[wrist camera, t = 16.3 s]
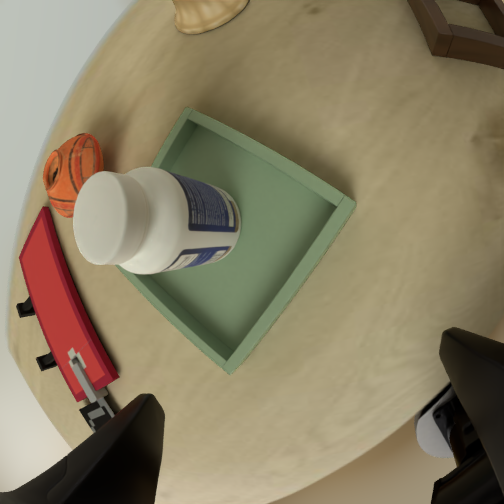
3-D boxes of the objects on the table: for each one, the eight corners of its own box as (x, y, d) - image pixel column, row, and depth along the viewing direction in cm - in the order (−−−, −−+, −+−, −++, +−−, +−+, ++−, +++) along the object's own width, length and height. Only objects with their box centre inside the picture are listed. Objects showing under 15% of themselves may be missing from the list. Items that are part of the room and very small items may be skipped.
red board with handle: (105, 448, 28) (163, 435, 23) (92, 456, 25) (146, 448, 21) (20, 270, 33) (51, 207, 29) (6, 271, 31) (34, 205, 26)
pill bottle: (189, 178, 20) (81, 147, 11) (254, 198, 18) (156, 165, 9) (168, 247, 21) (58, 254, 12) (228, 275, 19) (122, 304, 10)
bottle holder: (523, 75, 10) (536, 58, 7) (431, 55, 13) (438, 32, 10) (482, 0, 9) (488, -18, 7) (398, -16, 13) (398, -37, 10)
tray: (356, 206, 16) (356, 202, 14) (241, 364, 20) (230, 375, 18) (199, 115, 20) (186, 105, 18) (124, 256, 23) (108, 257, 21)
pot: (91, 240, 25) (31, 228, 19) (85, 185, 27) (35, 170, 22) (135, 184, 22) (66, 160, 16) (123, 133, 25) (70, 108, 19)
